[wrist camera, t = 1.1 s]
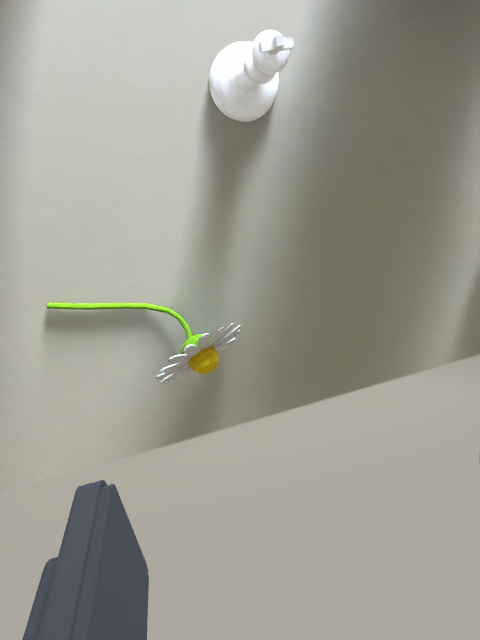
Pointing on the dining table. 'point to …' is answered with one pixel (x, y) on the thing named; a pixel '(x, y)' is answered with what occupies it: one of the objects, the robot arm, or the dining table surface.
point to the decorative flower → (195, 350)
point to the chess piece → (249, 75)
